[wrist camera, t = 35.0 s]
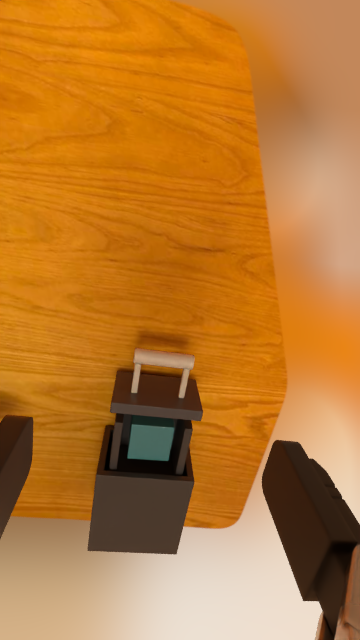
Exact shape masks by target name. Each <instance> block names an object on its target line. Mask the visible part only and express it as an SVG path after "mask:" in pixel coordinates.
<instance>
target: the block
mask: <svg viewBox="0 0 360 640" xmlns="http://www.w3.org/2000/svg"><path fill="white" fill-rule="evenodd" d="M173 434H174V419H173V418H163V417H152V416H142V415H132V417H131V424H130V432H129V443H128V454H127V458H130V459H145V460H160V461H168V460H169V455H170V450H171V444H172V439H173Z"/></svg>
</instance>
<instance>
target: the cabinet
mask: <svg viewBox="0 0 360 640" xmlns="http://www.w3.org/2000/svg"><path fill="white" fill-rule="evenodd" d="M113 434H114V426H106V427H105V432H104V437H103V443H102V448H101V453H100V458H99V463H98V468H97V473H96V481H95V490H94V498H93V507H92V516H91V525H90V534H89V542H88V551H107V552H131V553H158V554H177V549H178V545H179V542H180V537H181V533H182V529H183V525H184V521H185V517H186V513H187V509H188V505H189V501H190V497H191V493H192V489H193V485H194V477H193V470H192V463H191V456H190V450H189V448H188V452H187V456H186V461H185V465H184V469H183V474H182V476H173V475H159V474H145V473H131V472H117V471H109V465H110V457H111V449H112V442H113Z"/></svg>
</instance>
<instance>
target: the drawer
mask: <svg viewBox="0 0 360 640" xmlns="http://www.w3.org/2000/svg"><path fill="white" fill-rule="evenodd" d="M133 363H135V368H134V373H131V372H122V371H117V375H116V381H115V386H114V391H113V396H112V402H111V409H110V412H111V413H116V419H115V426H114V434H113V442H112V449H111V457H110V465H109V471H117V472H131V473H145V474H159V475H173V476H182V474H183V469H184V465H185V461H186V456H187V452H188V448H189V443H190V439H191V435H192V430H193V429H192V423H191V420H194V421H201V418H202V414H203V410H202V406H201V401H200V397H199V393H198V389H197V384H196V380H193V379H188V376H189V371H190V370H192V369H193V366H194V355H189V354H181V353H173V352H164V351H156V350H148V349H140V348H135V353H134V361H133ZM141 364H147V365H156V366H164V367H173V368H181V369H183V373H182V378H175V377H166V376H157V375H148V374H140V369H141ZM132 415H142V416H152V417H163V418H173V419H174V434H173V439H172V444H171V450H170V455H169V460H168V461H160V460H145V459H130V458H127V454H128V443H129V432H130V424H131V417H132Z"/></svg>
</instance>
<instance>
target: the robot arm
mask: <svg viewBox="0 0 360 640" xmlns="http://www.w3.org/2000/svg"><path fill="white" fill-rule="evenodd" d="M32 448H33V418H32V417H26V416H15V415H6V416H5V417H4V418H3V420H2V421H1V423H0V538H1V536H2V534H3V532H4V529H5V527H6V525H7V522H8V520H9V518H10V515H11V513H12V511H13V509H14V506H15V504H16V502H17V499H18V497H19V495H20V492H21V490H22V488H23V486H24V483H25V481H26V479H27V476H28V473H29V470H30V466H31V461H32ZM262 488H263V493H264V496H265V499H266V501H267V504H268V507H269V510H270V512H271V515H272V518H273V520H274V523H275V526H276V529H277V531H278V534H279V536H280V539H281V542H282V545H283V547H284V550H285V553H286V556H287V558H288V561H289V564H290V566H291V569H292V572H293V574H294V577H295V580H296V583H297V585H298V588H299V591H300V593H301V596H302V599H303V601H319V603H320V605H321V608H322V610H323V611H322V613H321V615H320V618H319V623H318V627H317V632H316V637H315V640H360V524H359V523H358V521H357V520H356V518H355V516H354V515H353V513H352V512H351V510H350V508H349V507H348V505H347V504H346V502H345V500H343V499H342V496H341V494H340V492H339V491H338V489H337V488H335V484H334V483H333V481H332V480H331V478H330V476H329V475H328V473H327V472H326V471H325V470H324V469H323V468H322V467H321V466H320V465H319V464H318V463H317V462H316V461H315V460H314V459H309V458H308V456H307V454H306V453H305V451H304V449H303V448H302V446H301V445H300V444H299V443H298V442H293V441H282V440H276V441H275V442H274V443H273V445H272V448H271V451H270V454H269V457H268V460H267V463H266V466H265V469H264V472H263V476H262Z"/></svg>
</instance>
